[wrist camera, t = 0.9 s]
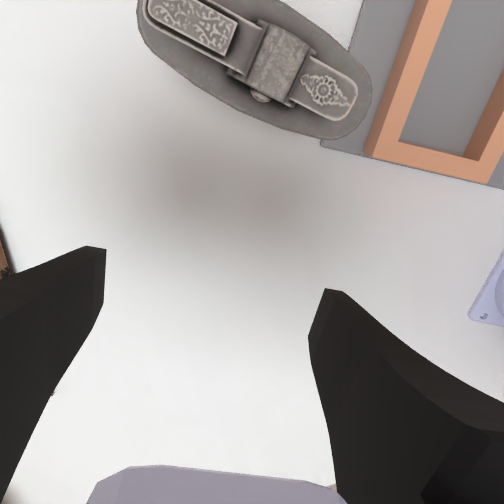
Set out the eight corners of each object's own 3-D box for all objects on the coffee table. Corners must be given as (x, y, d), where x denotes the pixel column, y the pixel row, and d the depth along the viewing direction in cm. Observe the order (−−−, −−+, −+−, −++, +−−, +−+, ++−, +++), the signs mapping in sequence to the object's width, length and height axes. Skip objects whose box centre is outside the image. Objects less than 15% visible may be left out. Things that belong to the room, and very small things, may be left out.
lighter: (338, 69, 19) (430, 65, 10) (306, 132, 20) (360, 180, 11) (190, -15, 17) (134, -113, 8) (165, 60, 18) (92, 47, 9)
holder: (631, -67, 17) (679, -84, 15) (498, 187, 22) (521, 197, 20) (407, -145, 15) (429, -174, 14) (320, 145, 20) (328, 151, 19)
